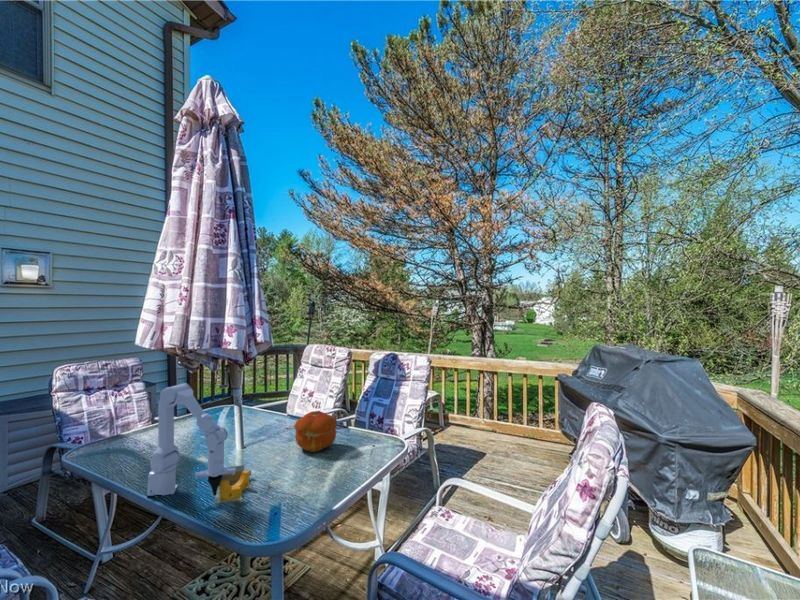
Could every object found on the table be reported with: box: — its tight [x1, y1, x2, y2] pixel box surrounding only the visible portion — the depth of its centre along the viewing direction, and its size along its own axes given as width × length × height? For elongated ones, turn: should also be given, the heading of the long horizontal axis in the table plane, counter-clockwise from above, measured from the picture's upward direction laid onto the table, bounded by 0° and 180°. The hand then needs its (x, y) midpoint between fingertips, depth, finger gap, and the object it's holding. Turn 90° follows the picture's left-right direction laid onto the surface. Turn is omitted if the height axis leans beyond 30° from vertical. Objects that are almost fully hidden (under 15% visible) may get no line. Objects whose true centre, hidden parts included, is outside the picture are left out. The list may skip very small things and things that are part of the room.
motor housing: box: [213, 465, 252, 505], centre depth 160 cm, size 13×22×5 cm, turn 20°
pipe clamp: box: [220, 469, 251, 500], centre depth 156 cm, size 12×4×6 cm, turn 152°
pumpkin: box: [294, 410, 338, 453], centre depth 207 cm, size 23×23×20 cm
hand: (215, 494), depth 152 cm, fingers closed
